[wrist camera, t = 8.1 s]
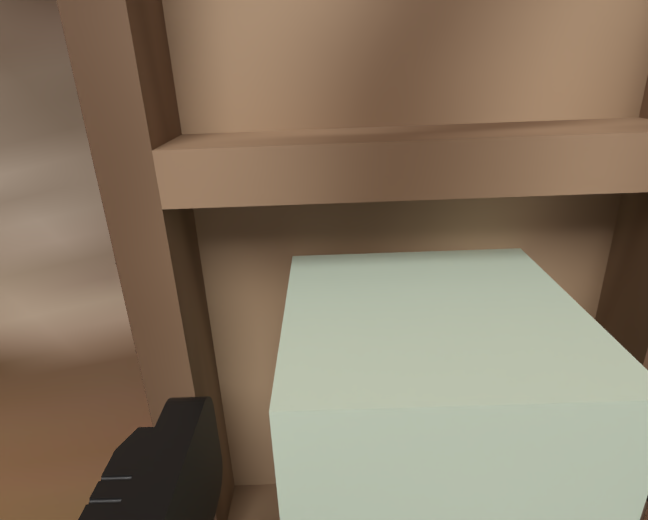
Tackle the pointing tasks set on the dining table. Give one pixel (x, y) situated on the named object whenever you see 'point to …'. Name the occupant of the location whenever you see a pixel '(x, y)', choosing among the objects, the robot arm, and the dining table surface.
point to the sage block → (451, 394)
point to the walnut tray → (351, 168)
